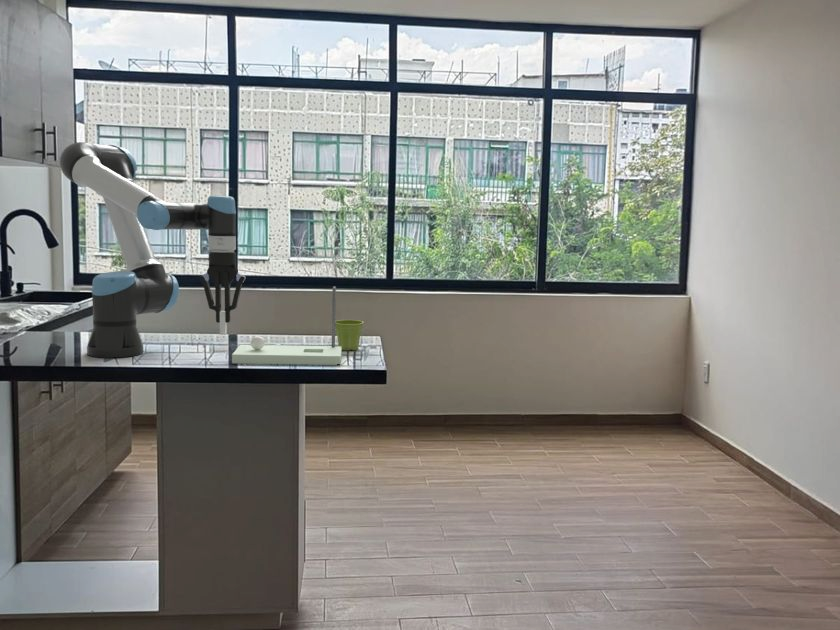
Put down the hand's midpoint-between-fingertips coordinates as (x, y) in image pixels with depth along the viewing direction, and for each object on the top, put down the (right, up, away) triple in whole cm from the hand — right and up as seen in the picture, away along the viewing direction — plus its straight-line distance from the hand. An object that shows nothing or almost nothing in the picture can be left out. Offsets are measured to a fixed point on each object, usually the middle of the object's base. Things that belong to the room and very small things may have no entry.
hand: (223, 333), depth 219 cm
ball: (+10, -3, +1) cm, 10 cm away
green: (+18, -7, +4) cm, 20 cm away
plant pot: (+34, -6, +22) cm, 41 cm away
